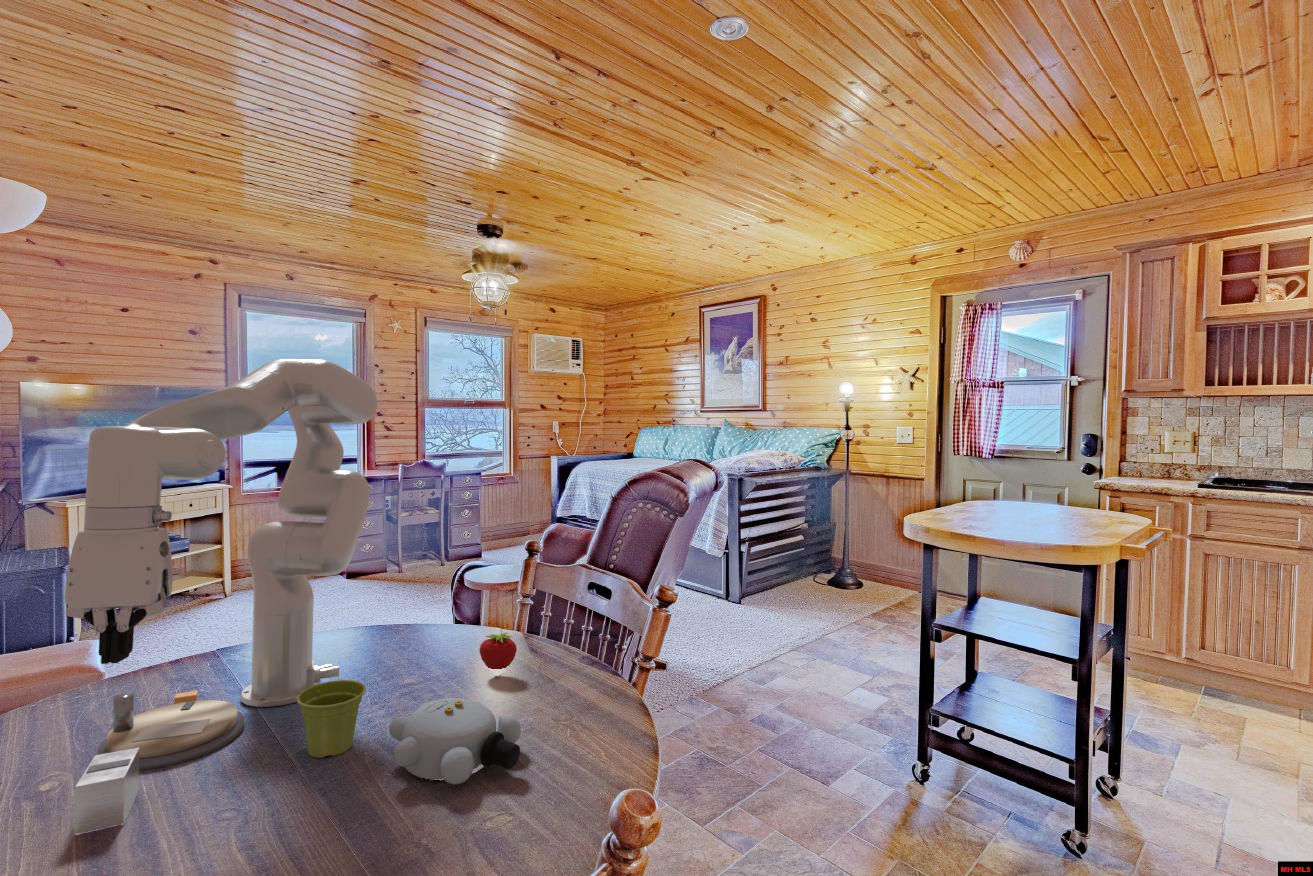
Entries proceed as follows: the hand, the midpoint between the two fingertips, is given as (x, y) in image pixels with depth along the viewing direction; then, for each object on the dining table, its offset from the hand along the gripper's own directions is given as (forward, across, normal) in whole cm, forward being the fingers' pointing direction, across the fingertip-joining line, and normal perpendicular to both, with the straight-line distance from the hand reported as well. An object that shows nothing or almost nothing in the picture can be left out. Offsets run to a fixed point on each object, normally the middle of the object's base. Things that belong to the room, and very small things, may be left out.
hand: (115, 660), depth 81 cm
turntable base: (+17, 0, -18) cm, 25 cm away
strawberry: (+17, -50, -32) cm, 61 cm away
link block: (+18, -2, +3) cm, 19 cm away
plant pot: (+18, -24, -8) cm, 31 cm away
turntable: (+16, -1, -16) cm, 23 cm away
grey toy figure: (+18, -43, 0) cm, 47 cm away
